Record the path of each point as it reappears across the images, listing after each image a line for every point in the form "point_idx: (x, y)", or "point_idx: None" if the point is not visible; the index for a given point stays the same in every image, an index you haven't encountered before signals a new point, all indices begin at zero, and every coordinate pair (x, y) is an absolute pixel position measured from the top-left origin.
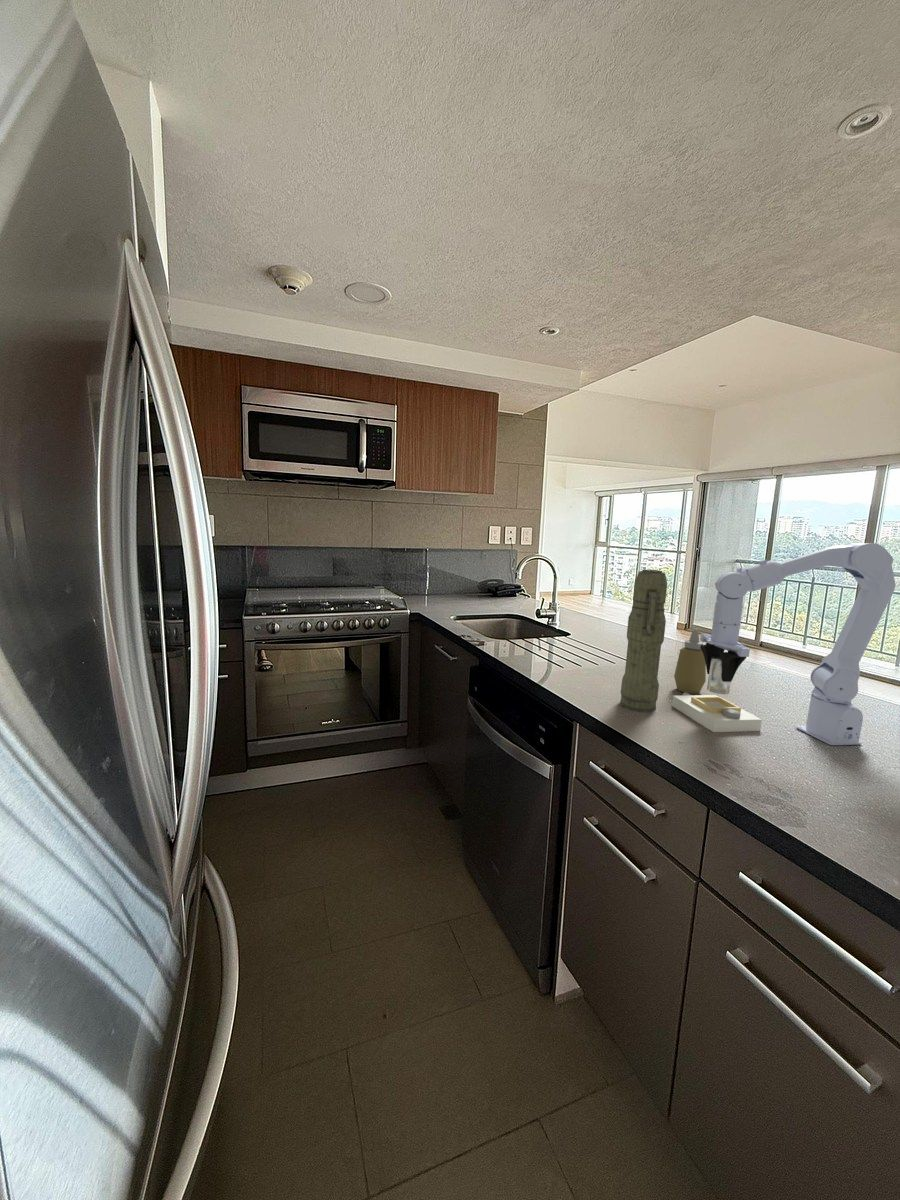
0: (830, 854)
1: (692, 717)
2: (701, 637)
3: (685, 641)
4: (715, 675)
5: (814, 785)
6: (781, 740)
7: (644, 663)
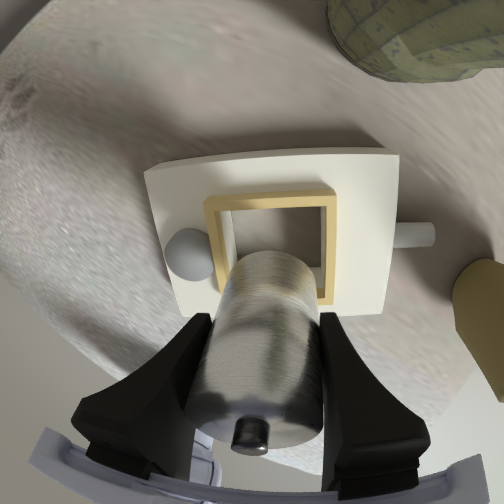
0: None
1: (263, 151)
2: (476, 484)
3: None
4: (230, 310)
5: (10, 229)
6: (147, 303)
7: None
